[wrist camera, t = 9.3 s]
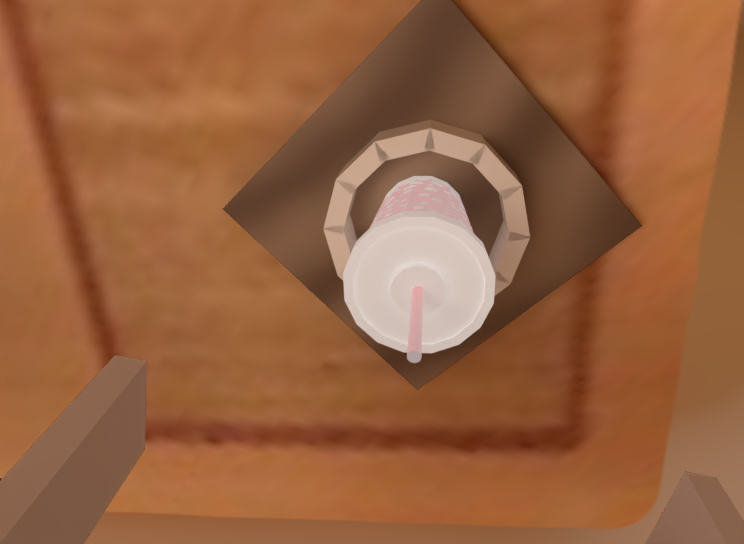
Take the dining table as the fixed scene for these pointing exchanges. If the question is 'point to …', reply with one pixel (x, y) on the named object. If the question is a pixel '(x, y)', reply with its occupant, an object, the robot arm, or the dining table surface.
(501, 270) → the ring
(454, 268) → the beverage cup
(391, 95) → the holder
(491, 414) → the dining table surface
